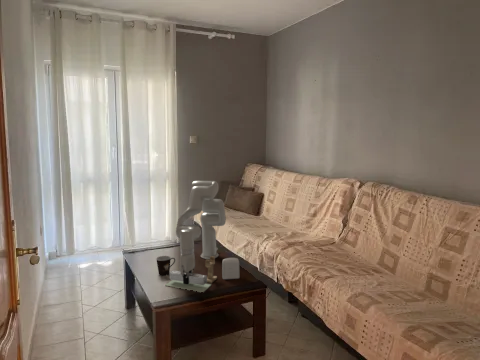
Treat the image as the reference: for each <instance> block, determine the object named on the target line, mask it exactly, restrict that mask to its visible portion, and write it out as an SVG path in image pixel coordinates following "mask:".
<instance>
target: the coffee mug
mask: <svg viewBox="0 0 480 360" xmlns="http://www.w3.org/2000/svg"><path fill="white" fill-rule="evenodd" d="M172 259H173V260H174V261H173V263H171V260H172ZM155 260H156V266H157V271H158V275H159V276H161V277H163V276H164V277H165V276H166V277H167V276H168V275H169V276H170V272H171V270H170V269H171V268H172V266H173V265H174V264H175V263H176V259H175V257H171V256H169V255H160V256H158V257H156V258H155Z"/></svg>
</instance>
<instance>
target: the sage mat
mask: <svg viewBox="0 0 480 360" xmlns="http://www.w3.org/2000/svg"><path fill="white" fill-rule="evenodd" d="M164 286H165V287H168V286H170V287H169V288H174V287H175V289H179V288H181V289H180V290H185V289H187V290H186V291H190V290H193V291H192V292H196V291H197V293H201V292H203V293H205V292H206V291H207V290H208V289H209V288H211V286H212V283H206V284H204V285H200V284H194V283H189V284H183V282H182V281H177V280H171V281H169V282H167V283H166V284H165V285H164Z"/></svg>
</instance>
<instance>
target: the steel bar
mask: <svg viewBox="0 0 480 360" xmlns="http://www.w3.org/2000/svg"><path fill="white" fill-rule="evenodd" d="M180 273H181V272H180V271H179V270H175V269H174V270H172V271H171V270H170V272H169V280H171V281H172V280H177V281H182V282H183V276H182V275H180ZM185 274H186V273H185ZM188 277H189V283H194V284H200V285H204V284H208V282H207V277H208V274H206V275H205V274H201V273H194V272H193V273H188Z"/></svg>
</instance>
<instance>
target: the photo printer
mask: <svg viewBox="0 0 480 360" xmlns="http://www.w3.org/2000/svg"><path fill="white" fill-rule="evenodd" d="M221 268H222V269H221V274H222V276H221V277H222V279H223V280H234V279H235V280H237V279H240V277H241V276H240V261H239V258H237V257H226V258H224V259H222V263H221Z"/></svg>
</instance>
